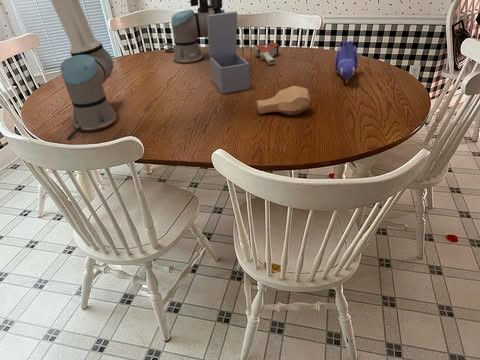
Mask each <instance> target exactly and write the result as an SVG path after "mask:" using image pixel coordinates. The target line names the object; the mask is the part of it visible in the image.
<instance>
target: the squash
mask: <svg viewBox="0 0 480 360" xmlns="http://www.w3.org/2000/svg"><path fill="white" fill-rule="evenodd" d="M311 98H312V97H311V95H310V90H309V89H307V88H306V87H302V86H298V85H292V86H289V87H287V88H283V89H280V90H279V91H277V92H276V94H275V95H274V96H272V97H271V98H265V99H257V100H256V102H255V103H256V107H257V109H256V110H257V113H258V114H259V115H263V114H266V113H273V112H275V113H282V114H284V115H287V116H295V115H300V114H301V113H303V112H305V111H306V110H308V109H309V107H310V102H311Z"/></svg>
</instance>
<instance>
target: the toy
mask: <svg viewBox="0 0 480 360" xmlns="http://www.w3.org/2000/svg"><path fill="white" fill-rule="evenodd" d="M353 44H354V41H353V40H349V41H347V40H344V41H342V45H339V46H338V48H337V50H336V53H335V56H334V70H335V71H336V72H337V73H338V74H339V75H340V76H341V77H342V79H344V82H345V85H348V82H349V80H350V79H351V78H352V77H353V76H354V75H355V74H356V70H357V69H358V66H359V53H358V49H357V46H356V45H353Z"/></svg>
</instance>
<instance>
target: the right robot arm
mask: <svg viewBox="0 0 480 360" xmlns="http://www.w3.org/2000/svg"><path fill="white" fill-rule="evenodd" d="M222 8H223V0H208V10H209V12H210V11H214V14H220V13H221V10H222ZM196 10H197V12H195V11H194V10H193V9H184V10H181V11H178V12H175V13H173V14H172V16H171V27H172V32H173V40H174V44H172V43H164V44H163V45H162V47H165V46H171V47H170V48H166V49H165V53H173V62H175V63H177V64H181V65H182V64H183V65H186V64H193V63H197V62H198V63H199V62H200V61H202V60H203V57H204V56H203V53H202V50H201V48H200V46H199V43H198V39H199V38H208V16H207V15H210V14H209V12H208V13H200V5H199V6H198V7H197V9H196Z"/></svg>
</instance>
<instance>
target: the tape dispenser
mask: <svg viewBox="0 0 480 360" xmlns="http://www.w3.org/2000/svg"><path fill="white" fill-rule="evenodd" d="M266 46H267V47H266ZM279 48H280V47H279V44H278V43H277V42H270V43H269V42H268V43H263V44H259V45H253V46H252V50H253V54H254V55H255V56H256V57H259V58H260V61H266V62H267V64H268V66H271V65H275V63H276V59H275V58H274V56H278V55H279Z"/></svg>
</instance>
